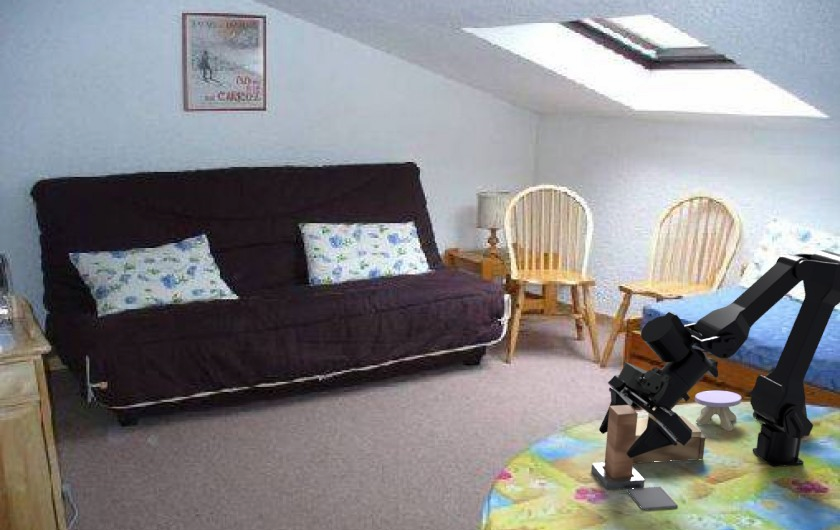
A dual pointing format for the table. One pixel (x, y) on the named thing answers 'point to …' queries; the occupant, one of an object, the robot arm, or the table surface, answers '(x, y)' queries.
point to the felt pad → (652, 498)
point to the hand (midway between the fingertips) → (614, 443)
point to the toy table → (717, 407)
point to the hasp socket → (617, 479)
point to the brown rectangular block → (620, 441)
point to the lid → (643, 421)
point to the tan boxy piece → (675, 452)
